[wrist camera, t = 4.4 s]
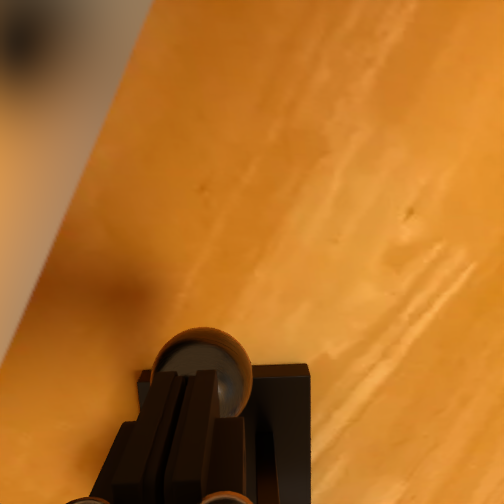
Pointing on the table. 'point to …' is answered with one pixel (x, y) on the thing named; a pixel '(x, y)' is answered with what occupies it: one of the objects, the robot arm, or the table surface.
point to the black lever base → (273, 433)
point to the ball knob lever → (210, 364)
